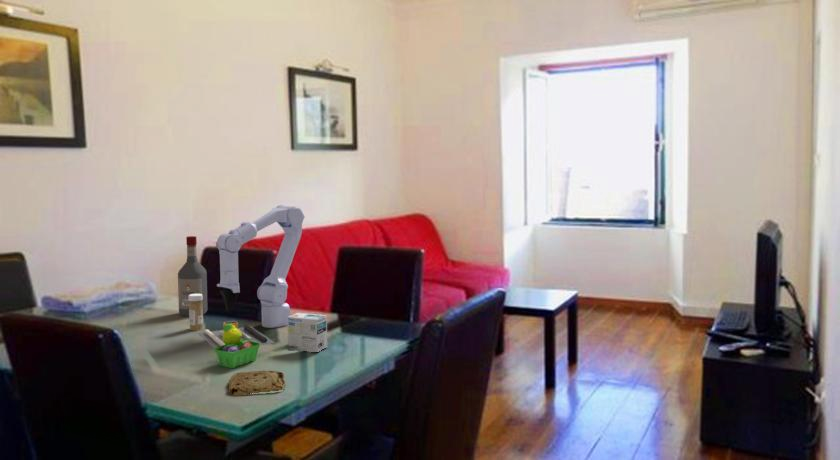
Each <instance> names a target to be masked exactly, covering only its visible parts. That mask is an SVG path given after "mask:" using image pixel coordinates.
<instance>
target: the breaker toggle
mask: <svg viewBox="0 0 840 460" xmlns="http://www.w3.org/2000/svg"><path fill="white" fill-rule="evenodd" d="M226 324H232V325H234V326H235V327H236V328H237V329H238V328H239V322H238V321H237V320H227V321H224V322H223V327H224V326H225V325H226Z"/></svg>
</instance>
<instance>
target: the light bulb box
mask: <svg viewBox="0 0 840 460" xmlns="http://www.w3.org/2000/svg"><path fill="white" fill-rule="evenodd" d="M327 317H328V315H326V314H315V313H303V312H296V313H293V314H292V315H291V314H290V316H288V325H287V346H290V347H289V348H287V350H288V351H295V350H297V351H296V352H303V351H307V352H306V353H311V352H319V351H320V352H322V351H323V350H322V349H324V348H326V347H327V348H328V318H327ZM327 348H326V349H327ZM321 350H322V351H321ZM324 350H325V349H324ZM308 351H309V352H308ZM320 352H319V353H320Z"/></svg>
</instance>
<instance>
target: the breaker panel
mask: <svg viewBox="0 0 840 460" xmlns="http://www.w3.org/2000/svg"><path fill="white" fill-rule="evenodd" d="M248 326H249V325H248ZM249 327H251V328H252V329H254V330H255V331H257V332H258V333H260V334H261V335H263V336H264V337H266V338H267V339H268V340H267V342H263V341H262V340H261V339H259V338H258V337H256V336H255V335H253V334H252V333H251V332H249V331H248V330H246V329H245V328H244V326H243V327H238V329H239V331H240V332H241V333H242V337H241V340H248V341H252V342H257V343H260V346H264V345H268V344H270V345H271V344H275V343H276V342H275V341H273V340H272V339H271V338H269V337H268V336H266V335H265V334H263V333H262V332H260V331H259V330H257V329H256V328H254V327H253V326H249ZM223 330H224V329H220V330H212V331H210V332H212V333H213V334H214V335H215V336H216V337H218V338H219V339H220V340H221V341H222V342H223ZM197 334H198V335H199V336H200V337H201V338H202V339H203V340H205V342H207V343H208V344H209V345H210V346H211V347H212V348H213V350H214V349H215V348H217V347H220V345H218V344H217V343H216V342H215V341H214V340H213V339H212V338H210V337H209V336H208V335H207V334H206V333H205V331H204V332H198V333H197ZM223 343H224V342H223Z"/></svg>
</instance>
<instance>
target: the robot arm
mask: <svg viewBox="0 0 840 460" xmlns="http://www.w3.org/2000/svg"><path fill="white" fill-rule="evenodd" d="M304 219H305V215H304V212H303V210H302V209H301V208H300V207H299V206H295V205H294V206H291V205H289V206H288V205H283V204H281V205H277V206H276V207H273V208H271V210H270V211H268V212H267V213H265V214H264V215H262V216H261V217H259V218H258V219H256V220H254V221H253V222H250V221H247V222H245V221H243V222H241V223H240V225H239V226H238V227H236V228H234V229H233V228H232V229H230V230H229V232H228V233H221V234H220V235H219V236H218V237H217V241H216V242H215V246H216V248H217V250H219V251H218V253H219V272H220V275H219V276H220V277H219V278H220V280H219V283H217V284H216V287H218V288H223V289H219V293H220V295H221V296H222V299H223V302H224V306H225V310H226V312H234V311H235V309H236V303H237V299H238V296H239V295H240V293H241V290H240V289H241V288H240V282H239V251H240V249H241V248H242V246H243V245H244V244H246V243H248V242H249V241H251V240H253V239H254V238H256V237H257V235H258V232H259V231H262V230H264V229H265V228H267V227H269V226H271V225H273V224H275V223H277V224H278V226H279V227H280V228H282V230H283V233H284V237H283V240H282V241H281V244H280V247H279V251H278V252H277V255H276V259H275V261H274V263H273V265H272V268H271V271H270V273H269V274H270V275H268V276H267V277H265V278H264V279H263V281H262V283H261V285H260V286H258V289H257V291H256V294H257V298H258V300H260V304H261V327H264V328H269V329H270V328H278V327H284V326H288V316H291V308H290V304H288V303H287V302H285V301H286V300H287V296H288V289H289V285H288V283H287V281H286V278H287V276H288V273H289V270H290V267H291V265H292V263H293V259H294V256H295V253H296V251H297V248H298V246H299V243H300V240H301V238H302V233H303V223H304Z"/></svg>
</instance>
